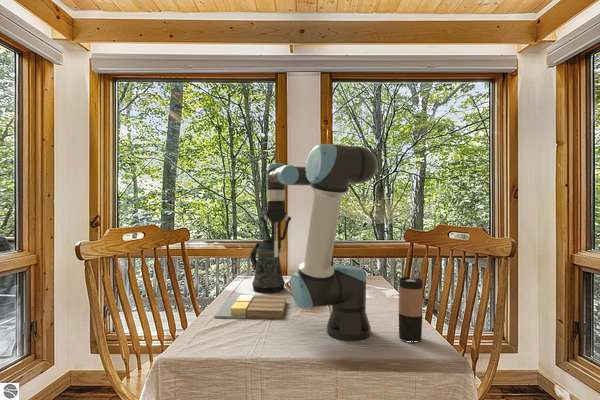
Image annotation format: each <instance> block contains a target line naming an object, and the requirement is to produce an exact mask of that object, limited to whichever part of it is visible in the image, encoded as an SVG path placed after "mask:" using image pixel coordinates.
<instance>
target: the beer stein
mask: <svg viewBox="0 0 600 400" xmlns="http://www.w3.org/2000/svg"><path fill="white" fill-rule="evenodd" d="M281 250H282V249H281V248H280V249H278V257H274V249H272V241H271V240H268V239H263V240H262V241H261V242H256V244H255V246H254V247H252V249H251V252H250V253H249V255H250V256H249V257H250V258H249V259H250V263H251V264H252V267H253V269H254V270H255V271H254V272H255V273H254V277H253V281H252V289H253V290H252V291H254V292H256V293H261V294H276V292H277V293H281V292H283V291H282V290H285V284H286V283H285V280H284V277H283V272H282V267H281V266H282V265H281V259H280V257H281V256H280V254H281ZM280 291H281V292H280Z"/></svg>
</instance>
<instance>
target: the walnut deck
mask: <svg viewBox="0 0 600 400" xmlns="http://www.w3.org/2000/svg"><path fill="white" fill-rule="evenodd" d="M286 306H287V295H257V294H256V295H254V298H253V300H252V302H251V304H250V305H249V307H248V309H247V317H246V319H283V318H284V314H285V309H286Z"/></svg>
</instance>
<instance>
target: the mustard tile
mask: <svg viewBox="0 0 600 400" xmlns="http://www.w3.org/2000/svg"><path fill="white" fill-rule="evenodd" d="M249 305H250V302H235V303H234V304H233V306H232V307H231V315H246V314H247V309H248V307H249Z"/></svg>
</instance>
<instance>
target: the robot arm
mask: <svg viewBox="0 0 600 400" xmlns="http://www.w3.org/2000/svg"><path fill="white" fill-rule="evenodd" d="M378 167H379V165H378V158H377V157H376V155H375V154H374V152H373V151H371V150H369V149H368V148H366V147H362V146H357V145H356V146H355V145H344V144H336V143H335V144H333V143H325V144H324V143H322V144H320V143H319V144H317V145H315V146H314V147H313V148H312V149H311V151H310V152H309V153H308V156H307V158H306V162H305V166H294V165H293V164H292V165H291V164H286V165H285V164H284V163H279V162H278V163H277V162H276V163H275V162H274V163H268V165H267V168H266V181H267V182H266V183H267V184H266V186H267V187H266V188H267V190H266V192H267V193H266V200H268V201H267V202H266V209H267V210H266V213H265V215H264V216H261V217H260V220H261V221H262V223H263V226H264V231H265V235H266V240H271V241H272V249H274V257H278V249H281V248H282V241H283V240H285V239H286V236H287V235H286V234H287V231H288V227H289V224H290V222H291V220H292V217H291V216H289V215H288V214H287V212H286V201H285V199H286V186H310V188H311V189H312V190H313V192H314V195H313V198H312V199H313V200H312V201H313V202H312V207H311V214H310V220H309V221H310V222H309V229H308V234H307V242H306V249H305V257H304V261H302V262H300V264H299V266H298V272H296V271H295V272H294V273H292V274H291V276H290V280H289V281H290V282H289V286H290V292H291V296H292V298H293V301H294V303H295V304H296V305H297V307H299V308H300V309H313V308H319V307H320V308H321V307H329V306H331V311H330V315H329V318H328V320H327V324H326V333H327V335H329V336H330V337H332V338H334V339H338V340H344V341H361V340H365V339H367V338H369V337H370V336H371V333H372V332H371V324H370V322H369V318H368V315H367V311H366V309H367V307H366V306H367V305H366V304H367V296H366V294H367V275H366V274H367V273H366V271H365V270H364V269H363V268H361V267H358V266H354V265H353V266H352V265H348V264H333V265H331V264H332V259H333V253H334V248H335V247H334V246H335V241H336V240H335V239H336V236H337V235H336V234H337V229H338V223H339V217H340V209H341V202H342V197H343V196H344V195H346V194H347V193H348V191H349V186H350V185H353V184H354V185H355V184H357V185H358V184H365V183H367V182H369V181H371V180H372V179H373V178H374V177H375V176H376V174H377V172H378ZM284 219H285V224H284V229H283V233H282V231H281V230H282V221H283V220H284ZM267 220H269V221H270V222H271V233H270V229H269V226H268V222H267ZM276 223H277V240H276V239H275V237H276V236H275V235H276V231H275V230H276ZM270 234H271V235H270Z"/></svg>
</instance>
